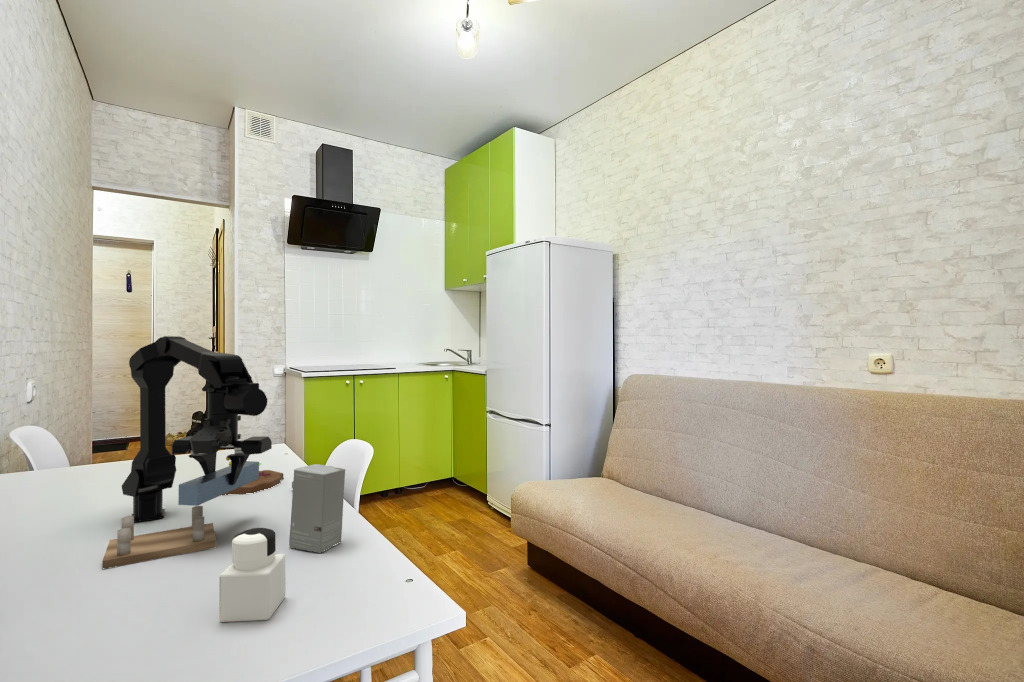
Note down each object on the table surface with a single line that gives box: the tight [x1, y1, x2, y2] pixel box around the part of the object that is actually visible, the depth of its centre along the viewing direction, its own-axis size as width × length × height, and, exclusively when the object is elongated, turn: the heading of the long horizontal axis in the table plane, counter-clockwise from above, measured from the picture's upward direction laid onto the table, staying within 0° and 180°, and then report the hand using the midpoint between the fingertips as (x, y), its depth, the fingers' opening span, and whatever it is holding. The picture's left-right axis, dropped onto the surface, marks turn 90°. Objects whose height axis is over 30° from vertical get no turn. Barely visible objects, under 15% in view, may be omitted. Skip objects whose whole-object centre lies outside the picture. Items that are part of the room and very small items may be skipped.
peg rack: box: [101, 505, 217, 570], centre depth 103 cm, size 12×18×6 cm, turn 123°
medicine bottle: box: [219, 527, 286, 623], centre depth 78 cm, size 7×7×12 cm
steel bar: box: [178, 460, 260, 507], centre depth 110 cm, size 20×4×4 cm, turn 174°
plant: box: [222, 453, 284, 496], centre depth 148 cm, size 20×20×11 cm
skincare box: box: [288, 463, 346, 554], centre depth 104 cm, size 8×7×16 cm
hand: (222, 484), depth 110 cm, fingers closed on steel bar, 4 cm apart
